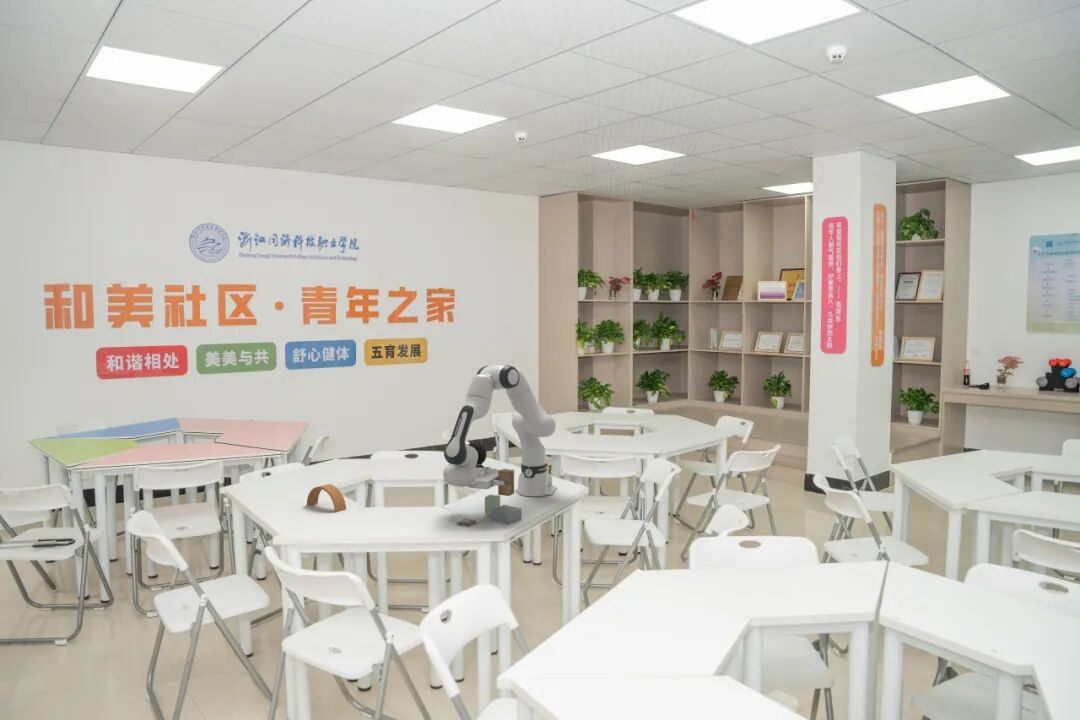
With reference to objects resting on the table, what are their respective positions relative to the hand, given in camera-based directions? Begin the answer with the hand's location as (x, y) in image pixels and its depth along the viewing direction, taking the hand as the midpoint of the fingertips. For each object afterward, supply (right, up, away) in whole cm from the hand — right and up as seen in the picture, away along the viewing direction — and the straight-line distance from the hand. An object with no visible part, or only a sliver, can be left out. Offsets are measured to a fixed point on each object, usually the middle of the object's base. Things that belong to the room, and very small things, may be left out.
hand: (508, 481), depth 307 cm
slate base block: (-1, -17, +2) cm, 17 cm away
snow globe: (-23, -10, +96) cm, 99 cm away
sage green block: (-7, -16, +10) cm, 20 cm away
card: (-17, -17, -3) cm, 24 cm away
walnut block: (-1, -5, +1) cm, 6 cm away
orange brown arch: (-82, -15, +21) cm, 86 cm away
